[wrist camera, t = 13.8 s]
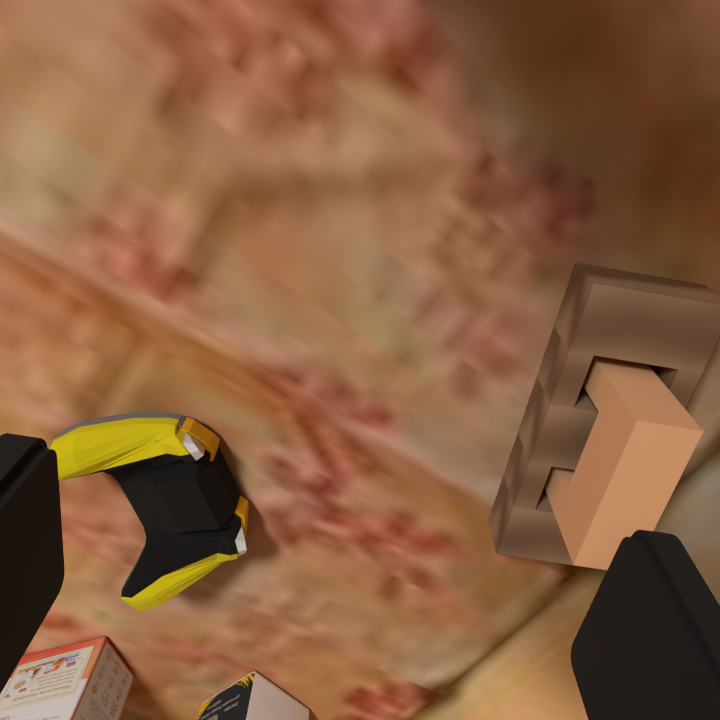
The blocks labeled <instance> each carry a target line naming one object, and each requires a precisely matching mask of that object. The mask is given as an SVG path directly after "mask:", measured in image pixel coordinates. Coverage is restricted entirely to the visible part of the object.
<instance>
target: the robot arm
mask: <svg viewBox="0 0 720 720" xmlns="http://www.w3.org/2000/svg"><path fill="white" fill-rule="evenodd" d="M63 579H64V556H63V541H62V525H61V509H60V494H59V478H58V463H57V454H56V452H55V450H52V449H47V444H46V442H45V440H43V439H41V438H35V437H28V436H22V435H15V434H9V433H6V434H2V435H1V436H0V694H1V692H2V690H3V689H4V687H5V685H6V684H7V682H8V680H9V678H10V677H11V675H12V673H13V672H14V670H15V668H16V666H17V665H18V663H19V661H20V660H21V658H22V656H23V654H24V653H25V651H26V649H27V647H28V646H29V644H30V642H31V641H32V639H33V637H34V635H35V634H36V632H37V630H38V629H39V627H40V625H41V623H42V622H43V620H44V618H45V617H46V615H47V613H48V611H49V610H50V608H51V606H52V604H53V603H54V601H55V599H56V598H57V596H58V594H59V592H60V589H61V587H62V583H63ZM571 663H572V668H573V671H574V674H575V677H576V681H577V684H578V687H579V690H580V694H581V697H582V700H583V703H584V706H585V710H586V713H587V716H588V719H589V720H720V606H719V604H718V602H717V601H716V599H715V597H714V596H713V594H712V592H711V591H710V589H709V588H708V586H707V584H706V583H705V581H704V579H703V578H702V576H701V574H700V573H699V571H698V569H697V568H696V566H695V564H694V563H693V561H692V559H691V558H690V556H689V554H688V553H687V551H686V549H685V548H684V546H683V545H682V543H681V541H680V540H679V539H678V538H677V537H676V536H674V535H672V534H667V533H660V532H653V531H647V530H637V531H635V532H634V533H633V534H632V536H631V537H625V538H623V540H622V541H621V543H620V545H619V547H618V549H617V551H616V553H615V555H614V557H613V560H612V562H611V564H610V566H609V568H608V570H607V572H606V574H605V576H604V579H603V581H602V583H601V585H600V587H599V589H598V591H597V593H596V595H595V597H594V600H593V602H592V604H591V606H590V608H589V610H588V612H587V614H586V616H585V619H584V621H583V623H582V625H581V627H580V629H579V631H578V633H577V635H576V638H575V640H574V642H573V645H572V649H571Z"/></svg>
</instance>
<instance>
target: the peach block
mask: <svg viewBox="0 0 720 720" xmlns="http://www.w3.org/2000/svg"><path fill="white" fill-rule="evenodd" d="M583 386H584V388H585V390H586V391H587V393H588V395H589V396H590V398H591V400H592V401H593V403H594V405H595V406H596V408H597V410H598V411H599V413H598V415H597V418H596V420H595V423H594V425H593V428H592V430H591V433H590V435H589V437H588V440H587V442H586V445H585V447H584V450H583V452H582V455H581V457H580V460H579V462H578V464H577V467H576V469H575V470H571V469H565V468H558V467H551V469H550V472H549V475H548V477H547V480H546V482H545V485H544V488H545V491H546V493H547V496H548V499H549V501H550V504H551V507H552V509H553V512H554V515H555V517H556V520H557V523H558V525H559V528H560V531H561V534H562V536H563V539H564V542H565V544H566V547H567V550H568V552H569V555H570V558H571V560H572V563H573V565H576V566H583V567H590V568H596V569H603V570H608V568H609V566H610V564H611V562H612V560H613V557H614V555H615V553H616V551H617V549H618V547H619V545H620V543H621V541H622V540H623V538H625V537H631V536H632V534H633V533H634V532H635V531H637V530H647V531H654V529H655V527H656V525H657V523H658V521H659V519H660V517H661V515H662V513H663V511H664V509H665V507H666V505H667V503H668V501H669V499H670V497H671V495H672V493H673V491H674V489H675V487H676V485H677V483H678V481H679V479H680V477H681V475H682V473H683V471H684V469H685V467H686V465H687V463H688V461H689V459H690V457H691V455H692V453H693V451H694V449H695V447H696V445H697V443H698V441H699V439H700V437H701V436H702V434H703V432H704V431H703V430H702V429H701V428H700V426H699V425H698V424H697V423H696V422H695V420H694V419H693V418H692V417H691V416H690V414H689V413H688V412H687V411H686V410H685V408H684V407H683V406H682V405H681V404H680V402H679V401H678V400H677V399H676V398H675V396H674V395H673V394H672V393H671V392H670V390H669V389H668V388H667V387H666V386H665V385H664V383H663V382H662V381H661V380H660V379H659V377H658V376H657V375H656V374H655V373H654V371H653V370H652V369H651V368H650V367H649V365H648V364H643V363H637V362H631V361H625V360H619V359H613V358H607V357H601V356H595V355H594V356H593V359H592V361H591V364H590V366H589V369H588V372H587V374H586V377H585V380H584V382H583Z"/></svg>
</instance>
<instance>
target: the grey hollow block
mask: <svg viewBox="0 0 720 720" xmlns="http://www.w3.org/2000/svg"><path fill="white" fill-rule="evenodd" d="M719 338H720V296H718V295H717V294H716V293H714V292H713V291H712V290H710V289H709V288H708V287H706V286H705V285H700V284H694V283H689V282H683V281H677V280H671V279H666V278H660V277H654V276H648V275H643V274H637V273H631V272H625V271H620V270H614V269H608V268H602V267H597V266H591V265H585V264H579V263H576V264H575V267H574V270H573V273H572V275H571V278H570V281H569V284H568V287H567V290H566V293H565V296H564V299H563V302H562V305H561V308H560V311H559V314H558V317H557V320H556V323H555V326H554V329H553V332H552V334H551V337H550V340H549V343H548V346H547V349H546V352H545V355H544V358H543V361H542V364H541V367H540V370H539V373H538V376H537V379H536V382H535V385H534V388H533V390H532V393H531V396H530V399H529V402H528V405H527V408H526V411H525V414H524V417H523V420H522V423H521V426H520V429H519V432H518V435H517V438H516V441H515V444H514V446H513V449H512V452H511V455H510V458H509V461H508V464H507V467H506V470H505V473H504V476H503V479H502V482H501V485H500V488H499V491H498V494H497V497H496V500H495V502H494V505H493V508H492V511H491V514H490V517H489V523H490V527H491V531H492V536H493V540H494V545H495V549H496V553H497V554H500V555H507V556H513V557H520V558H527V559H534V560H541V561H547V562H554V563H561V564H568V565H573V563H572V560H571V558H570V555H569V552H568V550H567V547H566V544H565V542H564V539H563V536H562V534H561V531H560V528H559V525H558V523H557V520H556V517H555V515H554V512H553V509H552V507H551V504H550V501H549V499H548V496H547V493H546V491H545V488H544V485H545V482H546V480H547V477H548V475H549V472H550V469H551V467H558V468H565V469H571V470H575V469H576V467H577V464H578V462H579V460H580V457H581V455H582V452H583V450H584V447H585V445H586V442H587V440H588V437H589V435H590V433H591V430H592V428H593V425H594V423H595V420H596V418H597V415H598V413H599V411H598V410H597V408H596V406H595V405H594V403H593V401H592V400H591V398H590V396H589V395H588V393H587V391H586V390H585V388H584V386H583V382H584V380H585V377H586V374H587V372H588V369H589V366H590V364H591V361H592V359H593V356H594V355H595V356H601V357H607V358H613V359H619V360H625V361H631V362H637V363H643V364H648V365H649V367H650V368H651V369H652V370H653V371H654V373H655V374H656V375H657V376H658V377H659V379H660V380H661V381H662V382H663V383H664V385H665V386H666V387H667V388H668V389H669V390H670V392H671V393H672V394H673V395H674V396H675V398H676V399H677V400H678V401H679V402H680V404H681V405H682V406H683V407H684V408H685V409H686V407H687V405H688V403H689V401H690V399H691V397H692V395H693V393H694V390H695V388H696V386H697V384H698V382H699V380H700V378H701V376H702V374H703V372H704V369H705V367H706V365H707V363H708V361H709V359H710V357H711V355H712V353H713V351H714V348H715V346H716V344H717V342H718V340H719ZM574 566H576V565H574ZM581 567H583V566H581ZM588 568H590V567H588ZM595 569H596V568H595ZM601 570H603V569H601Z"/></svg>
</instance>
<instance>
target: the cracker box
mask: <svg viewBox="0 0 720 720" xmlns="http://www.w3.org/2000/svg"><path fill="white" fill-rule="evenodd" d="M134 678H135V676H134V674H133V673H132V672H131V670H130V669H129V668H128V667H127V665H126V664H125V662H124V661H123V660H122V658H121V657H120V656H119V654H118V653H117V652H116V650H115V649H114V648H113V646H112V645H111V643H110V642H109V641H108V640H107V638H106V637H100V638H96V639H92V640H88V641H83V642H79V643H74V644H70V645H66V646H62V647H57V648H53V649H49V650H45V651H40V652H36V653H32V654H27V655H23V656H22V658H21V660H20V661H19V663H18V665H17V666H16V668H15V670H14V672H13V673H12V675H11V677H10V678H9V680H8V682H7V684H6V685H5V687H4V689H3V690H2V692H1V694H0V720H119V719H120V716H121V714H122V711H123V708H124V705H125V703H126V700H127V697H128V694H129V692H130V689H131V686H132V683H133V681H134Z"/></svg>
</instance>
